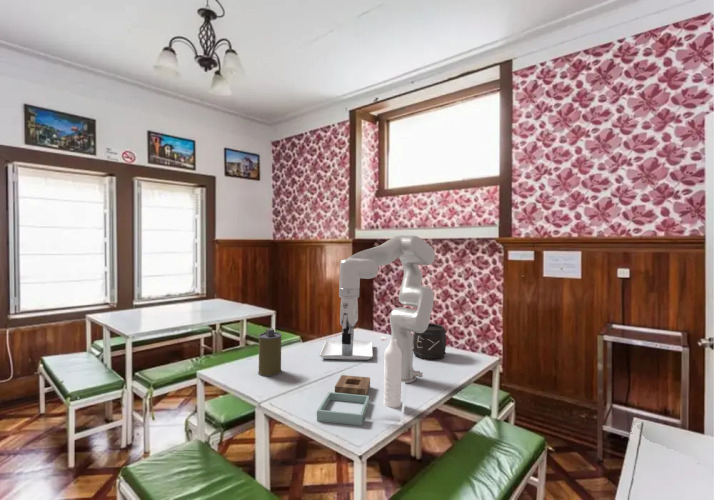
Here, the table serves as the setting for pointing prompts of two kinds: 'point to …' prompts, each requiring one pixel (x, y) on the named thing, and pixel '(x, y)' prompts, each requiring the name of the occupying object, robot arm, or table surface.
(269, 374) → the canister
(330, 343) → the square plate
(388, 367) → the water bottle
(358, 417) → the tray
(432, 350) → the black cylinder
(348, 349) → the steel pin
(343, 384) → the block
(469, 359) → the table surface
